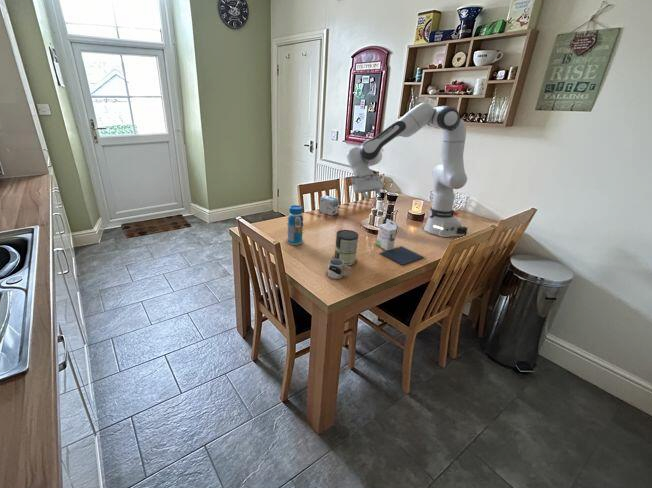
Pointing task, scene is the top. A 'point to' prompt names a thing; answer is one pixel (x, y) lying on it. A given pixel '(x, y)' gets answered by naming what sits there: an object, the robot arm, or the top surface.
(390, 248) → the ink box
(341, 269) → the mug
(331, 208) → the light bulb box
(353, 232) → the coffee can
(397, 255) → the mat
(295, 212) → the beverage bottle
